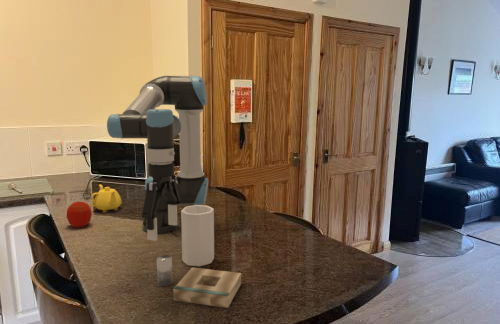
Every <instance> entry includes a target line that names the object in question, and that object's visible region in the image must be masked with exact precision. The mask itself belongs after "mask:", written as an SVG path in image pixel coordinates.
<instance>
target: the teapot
mask: <svg viewBox="0 0 500 324" xmlns="http://www.w3.org/2000/svg"><path fill="white" fill-rule="evenodd" d="M98 186H99V191H98V192H94V193H92V194H91V201H92V202H91V203H90V207H93V208H94V207H95V208H96V209H98V211H99V210H100V211H102V213H104V214H105V213H108V211H110V210H113V211H119V209H118V208H119V207H120V206H121V205H122V203H123V202H122V197H121V195H120V194H119V192H118V191H117V190H116V189H114V188H111V187H110V186H106V187H104V186H103V185H102V184H98ZM95 195H96V196H95ZM94 196H95V198H94Z"/></svg>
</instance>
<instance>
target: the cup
mask: <svg viewBox="0 0 500 324" xmlns="http://www.w3.org/2000/svg"><path fill="white" fill-rule="evenodd" d="M180 212H181V213H180V218H181V219H180V220H181V225H180V226H181V260H182V262H183V263H184V264H185V265H187V266H189V267H190V266H191V267H204V266H206V265H210V264H212V262H213V261H214V259H215V218H214V217H215V209H214V208H213V207H211V206H209V205H205V204H202V205H186V206H185V207H184V208H183V209H181V211H180Z"/></svg>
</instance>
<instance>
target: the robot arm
mask: <svg viewBox="0 0 500 324" xmlns="http://www.w3.org/2000/svg"><path fill="white" fill-rule="evenodd" d="M207 93H208V92H207V88H206V84H205V80H204V78H203V77H201V76H197V75H163V76H158V77H156V78H153V79H151V80H149V81H148V82H146V83H145V84H144V85H143V86H142V87H141V88H140V90H139V94H138V95H137V96H136V97H135V99H134V100H133V101H132V103H130V104H129V106H127V108H125V110H124V111H123V112H122V113H116V114H115V113H112V114H110V115H109V116H108V117H107V120H106V121H107V122H106V128H107V133H108V135H109V137H111V138H113V139H121V140H122V139H123V140H124V139H147V140H146V143H147V162H148V164H147V168H148V169H147V171H148V172H147V175H148V176H149V177H147V178H146V179H145V182H144V183H145V184H144V192H145V193H144V197H145V198H144V203H143V207H142V213H141V218H142V219H143V221H142V225H141V226H142V230H143V232H145V233H147V235H146V236H147V237H146V238H147V241H158V234H163V233H164V234H165V233H170V232H173V231H175V230H177V229H178V228H179V220H178V206H193V205H205V203H206V200H207V195H208V191H209V189H208V188H209V178H208V177H206V176H205V175H206V174H205V172H204V171H203V170H202V161H201V160H202V159H201V153H202V152H201V113H202V112H203V111H204V107H205V106H207V104H208V94H207ZM163 105H164V106H165V105H167V106H169V105H170V106H174V110H175V112H177V114H178V116H177V115H175V114H174V113H173V110H172V109H170V108H169V109H167V108H159V107H160V106H163ZM177 136H179V162H180V163H179V164H180V169H179V171H178V172H177V174H176V175H175V163H174V161H175V154H176V152H175V146H174V145H175V138H176V137H177Z"/></svg>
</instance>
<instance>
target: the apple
mask: <svg viewBox="0 0 500 324" xmlns="http://www.w3.org/2000/svg"><path fill="white" fill-rule="evenodd" d="M91 207H92V206H91V205H90V204H89V203H88V202H85V201H79V200H78V201H74V202H73V203H71V204H70V205H68V208H67V209H66V219H67V221H68V222H67V223H68V224H69V225H71V226H72V227H74V228H76V229H78V228H79V229H80V228H83V227H85V226H86V225H88V224H89V223H90V222H91V219H92V215H93V214H92V213H93V212H92V208H91Z"/></svg>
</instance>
